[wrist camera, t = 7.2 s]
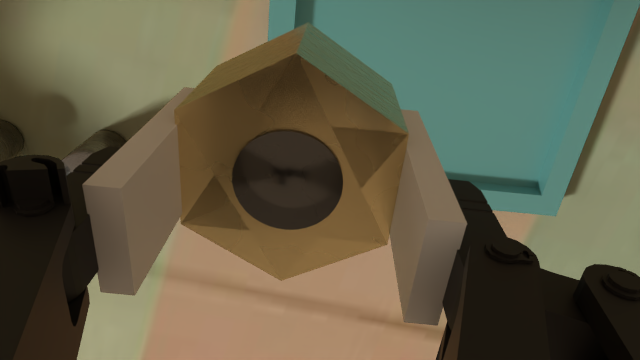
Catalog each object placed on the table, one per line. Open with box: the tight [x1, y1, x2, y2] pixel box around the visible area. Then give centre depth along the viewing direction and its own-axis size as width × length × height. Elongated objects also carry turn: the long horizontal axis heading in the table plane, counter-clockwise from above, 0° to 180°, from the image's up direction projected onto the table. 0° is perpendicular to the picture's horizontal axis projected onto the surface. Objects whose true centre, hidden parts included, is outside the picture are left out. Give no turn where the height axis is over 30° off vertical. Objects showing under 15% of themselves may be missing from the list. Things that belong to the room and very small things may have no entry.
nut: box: [174, 22, 409, 281], centre depth 14 cm, size 6×7×5 cm
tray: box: [268, 0, 640, 216], centre depth 30 cm, size 22×22×2 cm
